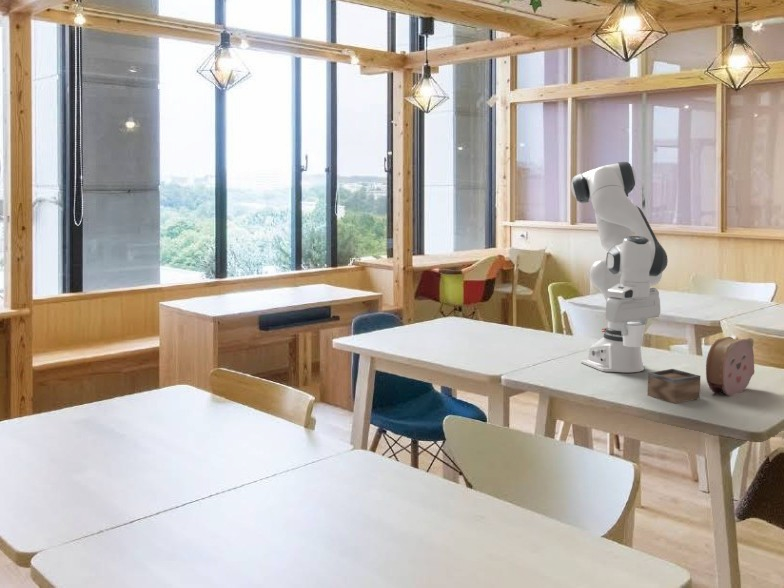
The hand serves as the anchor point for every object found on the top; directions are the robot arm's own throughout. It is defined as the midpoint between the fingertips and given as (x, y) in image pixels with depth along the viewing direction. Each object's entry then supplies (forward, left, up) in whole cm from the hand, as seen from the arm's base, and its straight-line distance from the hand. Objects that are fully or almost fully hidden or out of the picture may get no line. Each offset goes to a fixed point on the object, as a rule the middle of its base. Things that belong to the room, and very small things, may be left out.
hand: (632, 334), depth 249 cm
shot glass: (0, 0, -4) cm, 4 cm away
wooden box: (+11, +7, -18) cm, 22 cm away
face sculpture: (+15, +27, -19) cm, 36 cm away
